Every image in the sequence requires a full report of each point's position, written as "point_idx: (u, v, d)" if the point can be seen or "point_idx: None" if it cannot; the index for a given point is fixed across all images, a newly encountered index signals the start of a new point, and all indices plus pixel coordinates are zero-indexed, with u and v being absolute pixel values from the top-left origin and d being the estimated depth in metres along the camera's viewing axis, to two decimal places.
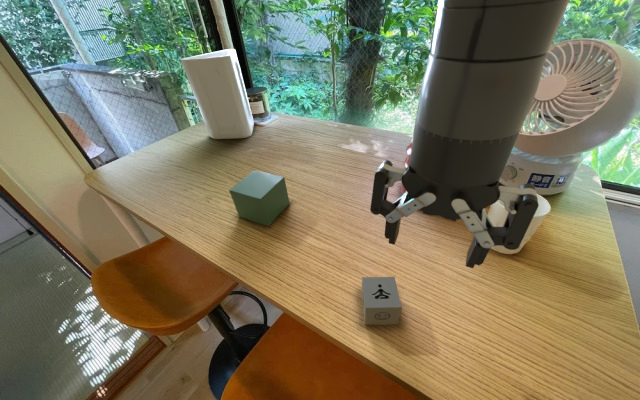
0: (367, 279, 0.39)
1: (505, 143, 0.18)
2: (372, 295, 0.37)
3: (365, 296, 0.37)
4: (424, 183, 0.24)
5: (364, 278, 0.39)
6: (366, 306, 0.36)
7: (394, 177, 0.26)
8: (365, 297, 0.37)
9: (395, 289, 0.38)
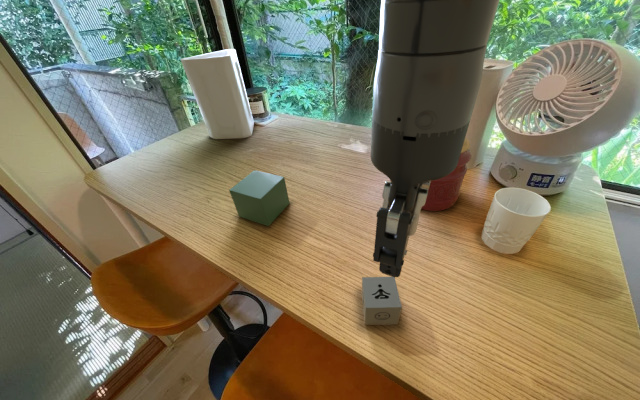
0: (367, 279, 0.39)
1: (379, 130, 0.20)
2: (372, 295, 0.37)
3: (365, 296, 0.37)
4: None
5: (364, 278, 0.39)
6: (366, 306, 0.36)
7: None
8: (365, 297, 0.37)
9: (395, 289, 0.38)
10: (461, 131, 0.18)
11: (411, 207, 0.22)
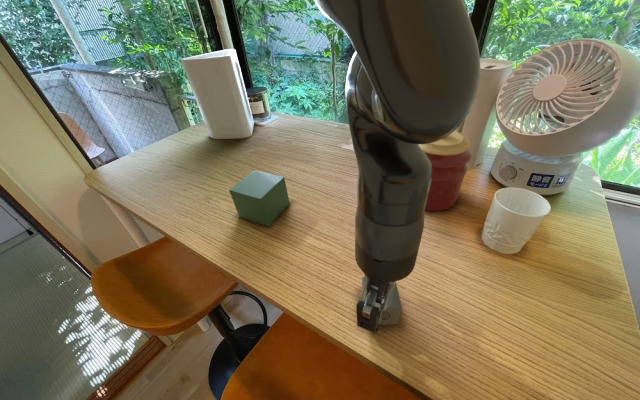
0: None
1: (358, 248, 0.29)
2: None
3: None
4: None
5: None
6: None
7: None
8: None
9: (395, 289, 0.38)
10: (411, 256, 0.28)
11: (381, 295, 0.31)
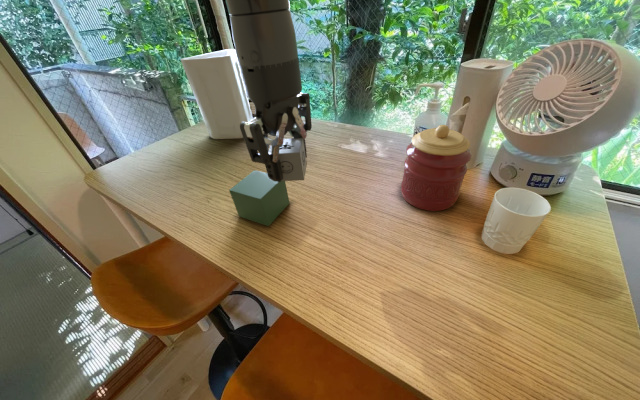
0: None
1: None
2: None
3: (270, 148, 0.39)
4: None
5: None
6: None
7: None
8: (270, 149, 0.39)
9: (299, 144, 0.40)
10: (282, 66, 0.30)
11: (267, 122, 0.33)
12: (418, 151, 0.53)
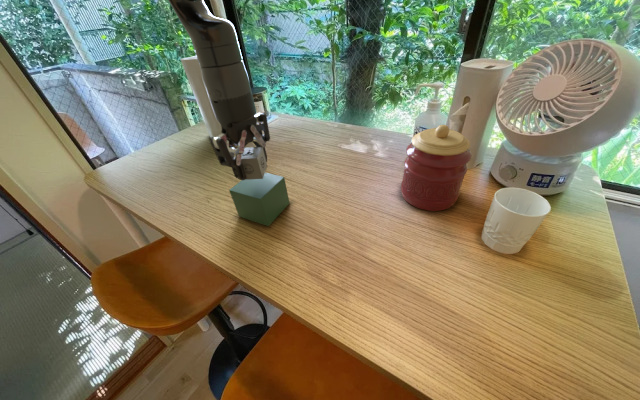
0: None
1: None
2: None
3: None
4: None
5: None
6: None
7: None
8: None
9: (258, 151, 0.53)
10: (238, 99, 0.43)
11: (230, 136, 0.47)
12: (418, 151, 0.53)
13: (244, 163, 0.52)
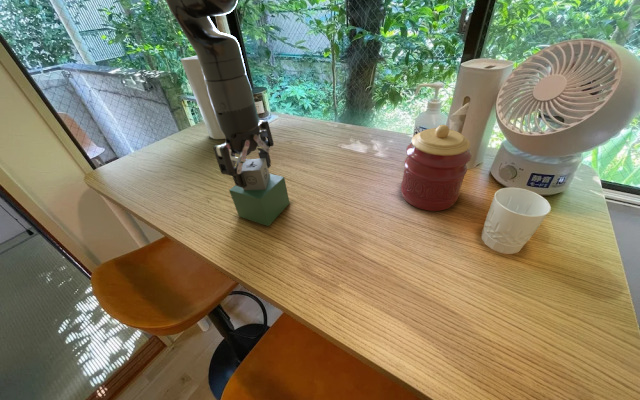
0: (246, 160, 0.57)
1: (214, 111, 0.46)
2: (245, 166, 0.55)
3: None
4: None
5: None
6: None
7: None
8: None
9: (261, 163, 0.55)
10: (241, 111, 0.45)
11: (234, 146, 0.48)
12: (418, 151, 0.53)
13: (248, 175, 0.54)
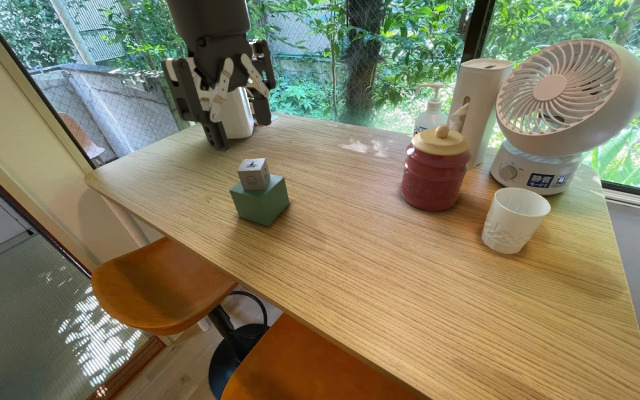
0: (246, 160, 0.57)
1: None
2: (245, 166, 0.55)
3: (240, 166, 0.54)
4: None
5: (245, 159, 0.57)
6: (238, 170, 0.53)
7: None
8: (240, 167, 0.54)
9: (261, 163, 0.55)
10: None
11: (203, 65, 0.26)
12: (418, 151, 0.53)
13: (248, 174, 0.54)
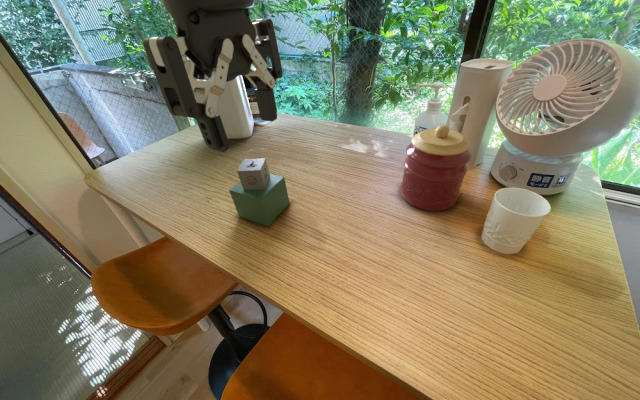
0: (246, 160, 0.57)
1: None
2: (245, 166, 0.55)
3: (240, 166, 0.54)
4: None
5: (245, 159, 0.57)
6: (238, 170, 0.53)
7: None
8: (240, 167, 0.54)
9: (261, 163, 0.55)
10: None
11: (196, 48, 0.21)
12: (418, 151, 0.53)
13: (248, 174, 0.54)
